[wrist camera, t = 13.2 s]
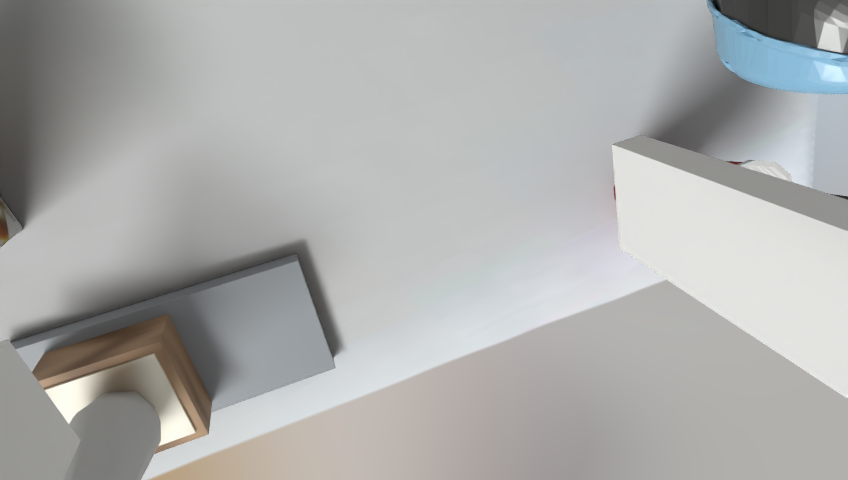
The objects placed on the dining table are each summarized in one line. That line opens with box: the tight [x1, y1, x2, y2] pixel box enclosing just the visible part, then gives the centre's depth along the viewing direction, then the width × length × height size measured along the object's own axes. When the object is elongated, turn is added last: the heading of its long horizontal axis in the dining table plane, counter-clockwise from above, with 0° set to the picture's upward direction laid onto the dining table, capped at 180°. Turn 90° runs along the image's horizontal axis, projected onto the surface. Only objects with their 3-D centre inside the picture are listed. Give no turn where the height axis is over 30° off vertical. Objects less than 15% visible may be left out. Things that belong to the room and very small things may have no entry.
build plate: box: [11, 254, 335, 412], centre depth 43 cm, size 22×11×2 cm, turn 103°
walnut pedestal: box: [32, 314, 212, 454], centre depth 40 cm, size 9×9×4 cm
